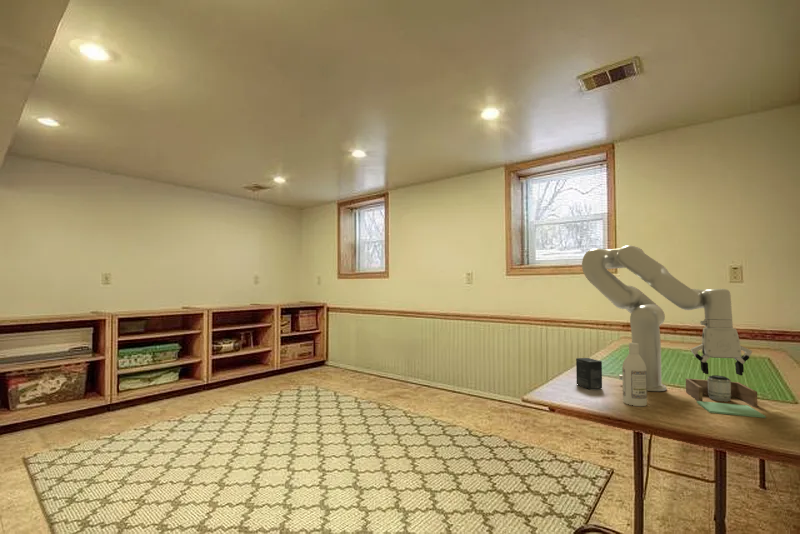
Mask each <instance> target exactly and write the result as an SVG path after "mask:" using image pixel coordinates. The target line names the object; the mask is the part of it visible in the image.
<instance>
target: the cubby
mask: <svg viewBox="0 0 800 534" xmlns="http://www.w3.org/2000/svg"><path fill="white" fill-rule="evenodd" d="M685 392H687V394H688V395H689V396H690V395H691V396H690V397H692V398H693V399H694V398H695V399H694V400H695V401H696V402H697V401H704V400H703V395H707V396H709V394H708V379H698V378H697V379H696V378H685ZM731 397H734V398H738V399H739V400H741V401H743V402H745V403H746V402H747V403H746V404H749V406H751V405H752V408H753V407H754V408H758V391H757V390H754V389H752V388H751V387H749V386H747V385H745V384H743V383H740V382H739V381H738V382H737V381H731Z"/></svg>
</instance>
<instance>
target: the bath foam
mask: <svg viewBox="0 0 800 534" xmlns="http://www.w3.org/2000/svg"><path fill="white" fill-rule="evenodd" d="M621 369H622V373H621V375H623V380H622V402H623V403H624V404H626V405H628V404H629V406H632V405H633V406H634V407H646V406H647V405H648V391H647V371H646V365H645V363H644V361H643V359H642V358H641V357H640V355H639V344H638V343H632V342H629V343H628V354H627V356H626V357H625V359H624V360H623V362H622V368H621ZM633 406H632V407H633Z"/></svg>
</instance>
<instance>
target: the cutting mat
mask: <svg viewBox="0 0 800 534" xmlns="http://www.w3.org/2000/svg"><path fill="white" fill-rule="evenodd" d="M696 403H697V404H698V405H699V406H701V408H703V409H704V410H705V411H707V412H709V413H711V414H719V415H731V416H741V417H750V418H751V417H752V418H762V419H766V418H767V417H766V415H765V414H763V413H761V412H760V411H759V410H757V409H755V408H753V407H751V405H747V404H735V403H727V402H714V401H704V400H703V401H697V400H696Z"/></svg>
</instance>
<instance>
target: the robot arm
mask: <svg viewBox="0 0 800 534" xmlns="http://www.w3.org/2000/svg"><path fill="white" fill-rule="evenodd" d="M581 261H582V262H581V268H582V273H583V275H584V276H585V279H586V280H587V281H588V282H589V283H590V284H592V286H593V287H594V288H595V289H597V291H599V292H600V293H601V295H603V296H604V297H605V298H606V299H608V301H610V302H611V303H612V304H613V305H614V306H615V307H616V308H617V309H622V310H626V311H627V312H629V313H630V317H629V324H630V332H631V343H638V344H639V355H640V357H641V358H642V359H643V361H644V363H645V365H646V371H647V392H648V391H649V392H664V391H667V386H666V385H665V384H663V383H662V344H661V343H662V342H661V331H660V326H661V325H662V324H664V322H665V320H666V315H665V312H664V311H663V310H664V309H662V307H660V306H659V305H658V304H657V303H656V302H655V301H653V300H652V299H651V298H650V297H649V296H648V295H646V294H645V292H644V293H643V292H642V290H640V289H639V288H638V287H635V286H633V285H627V284H625V283H624V282H622V281H621V280H620V279H619V278H618V277H617V276H616V275H615V274H613V273H612V272H610V270H611V269H612V270H613V269H614V270H615V269H627V270H628V271H630V272H631V273H632V274H634V275H636V276H637V277H638V278H639V279H641V280H642V281H644V282H645V283H646V284H647V285H648V286H650V287H651V288H652V289H654V290H655V291H656V292H657V293H659V294H660V295H661V296H662V297H664V298H665V299H666V300H667V301H669V302H671V303H672V304H674V306H676V307H678V308H680V309H681V310H685V311H692V310H699V309H703V310H704V320H700V323H699V324H700V325H701V326H704V327H703V328H702V335H701V344H699V345H696V346H694V347H692V348H690V351H691V354H692V355H694V357H695V358H696V359H697V360H698V361H699V362H700V370H701V372H702V373H703V374H704V375H709V363H708V362H707V361H708V360H709V359H710V358H714V359H716V358H717V359H734V360H735V361H736V362H735V365H734V366H735V374H736V375H738V376H743V375H744V373H745V372H744V371H745V370H744V364H745V362H746V361H748V360H749V359H750V356H751V355H752V353H753V350H751V349H749V348H747V347H744V346H742V345H741V342H740V337H739V334H738V333H739V332H738V330H737V328H734V323H733V313H732V312H733V311H732V299H731V297H732V295H731V291H730V290H729V289H726V288H709V289H699V288H698V289H697V288H691V287H689V286H688V285H686V284H684V283H683V282H681V281H680V280H678V279H677V278H676V277H675V276H674V275H672V274H671V272H669V270H668V269H667V268H666V266H664V265H663V264H662V263H660V262H658V261H657V260H656V259H654V258H652V257H651V256H649V255H648V254H647V253H645V251H644V250H643V249H642V248H641V247H639V246H636V245H632V244H631V245H624V246H622V247H620V248H612V249H611V248H609V249H608V248H607V249H604V248H598V247H595V248H591V249H590V250H588V251H586V252H585V253H584V255H583V258H582V260H581ZM699 351H701V353H702V355H700V354H699V353H698V352H699ZM742 352H744V354H743V355H742ZM618 379H619V380H620V381H623V374H618Z"/></svg>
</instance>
